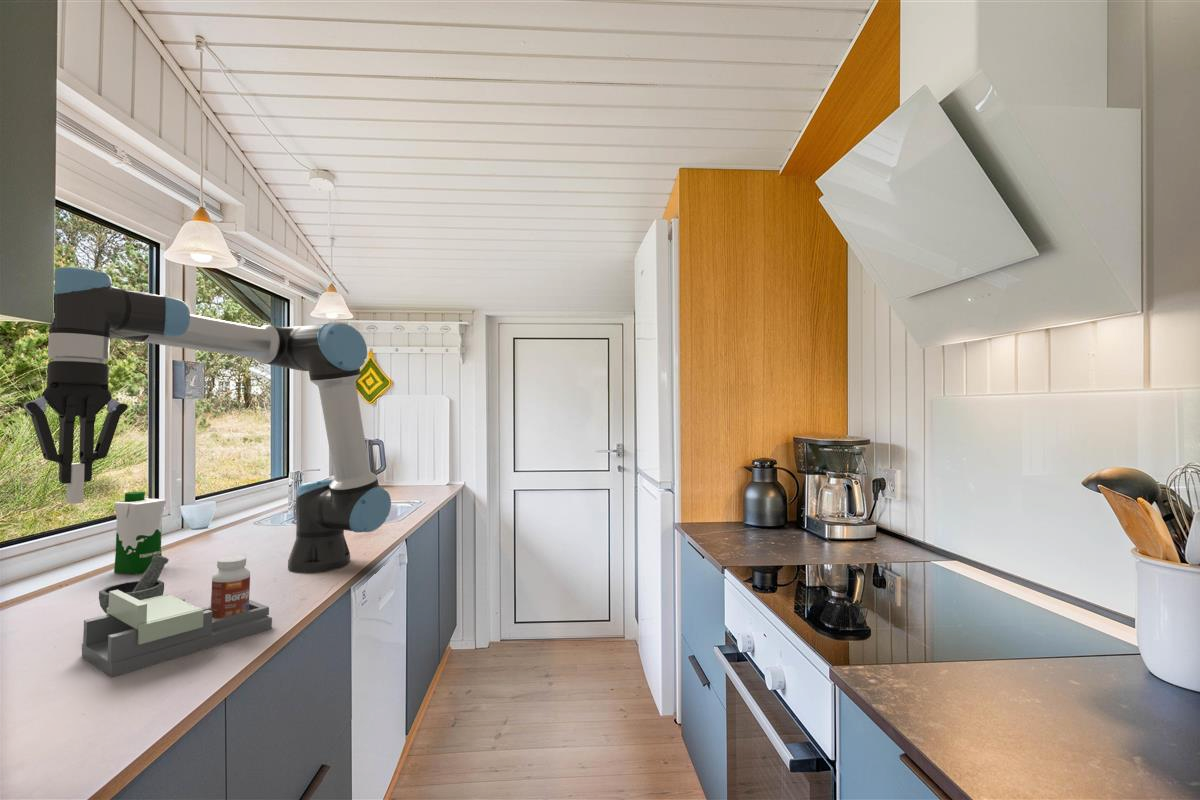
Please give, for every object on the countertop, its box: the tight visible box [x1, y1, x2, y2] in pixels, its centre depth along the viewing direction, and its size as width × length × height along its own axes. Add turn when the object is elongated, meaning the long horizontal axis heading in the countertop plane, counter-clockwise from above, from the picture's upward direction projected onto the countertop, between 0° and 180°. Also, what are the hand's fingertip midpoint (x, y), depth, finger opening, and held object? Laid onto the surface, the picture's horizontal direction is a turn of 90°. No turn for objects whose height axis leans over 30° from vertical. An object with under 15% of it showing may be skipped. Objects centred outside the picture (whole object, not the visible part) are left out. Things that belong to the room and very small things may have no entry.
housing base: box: [81, 597, 273, 678], centre depth 101 cm, size 24×14×6 cm, turn 147°
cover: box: [105, 590, 204, 645], centre depth 97 cm, size 9×15×6 cm, turn 57°
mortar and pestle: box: [98, 555, 170, 615], centre depth 110 cm, size 11×9×12 cm
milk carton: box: [113, 491, 167, 575], centre depth 145 cm, size 9×9×20 cm
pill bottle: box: [210, 555, 251, 619], centre depth 107 cm, size 6×6×11 cm
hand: (74, 502), depth 92 cm, fingers closed
